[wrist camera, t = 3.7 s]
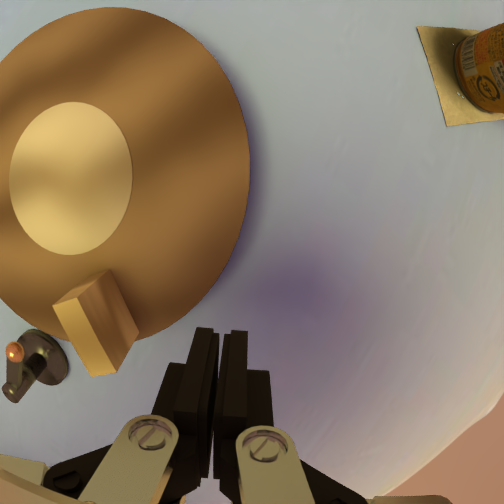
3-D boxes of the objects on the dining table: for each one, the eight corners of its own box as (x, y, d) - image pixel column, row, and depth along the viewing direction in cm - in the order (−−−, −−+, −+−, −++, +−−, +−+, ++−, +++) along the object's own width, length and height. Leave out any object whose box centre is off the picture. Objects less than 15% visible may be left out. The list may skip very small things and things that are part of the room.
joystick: (64, 389, 23) (36, 431, 17) (19, 361, 22) (-14, 396, 16) (77, 328, 21) (40, 370, 16) (26, 296, 20) (-17, 329, 15)
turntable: (-43, 115, 15) (-96, 114, 9) (190, -26, 14) (172, -83, 8) (37, 352, 20) (-2, 396, 14) (294, 281, 19) (314, 331, 13)
